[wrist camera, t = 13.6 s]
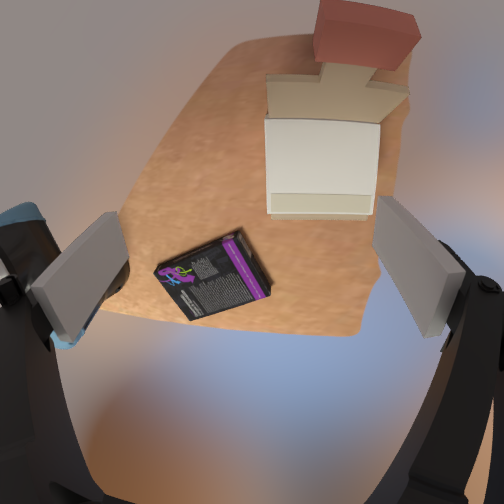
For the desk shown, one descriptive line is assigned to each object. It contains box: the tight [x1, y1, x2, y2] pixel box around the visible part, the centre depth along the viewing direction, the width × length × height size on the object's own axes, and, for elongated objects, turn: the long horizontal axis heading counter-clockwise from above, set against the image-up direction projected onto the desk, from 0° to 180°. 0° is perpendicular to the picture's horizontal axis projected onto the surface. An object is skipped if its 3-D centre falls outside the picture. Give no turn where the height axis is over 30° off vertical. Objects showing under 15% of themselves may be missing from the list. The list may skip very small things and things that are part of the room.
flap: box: [266, 0, 421, 123], centre depth 20 cm, size 13×18×2 cm
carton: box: [264, 114, 380, 220], centre depth 38 cm, size 14×13×12 cm
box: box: [153, 231, 271, 321], centre depth 56 cm, size 14×4×20 cm
